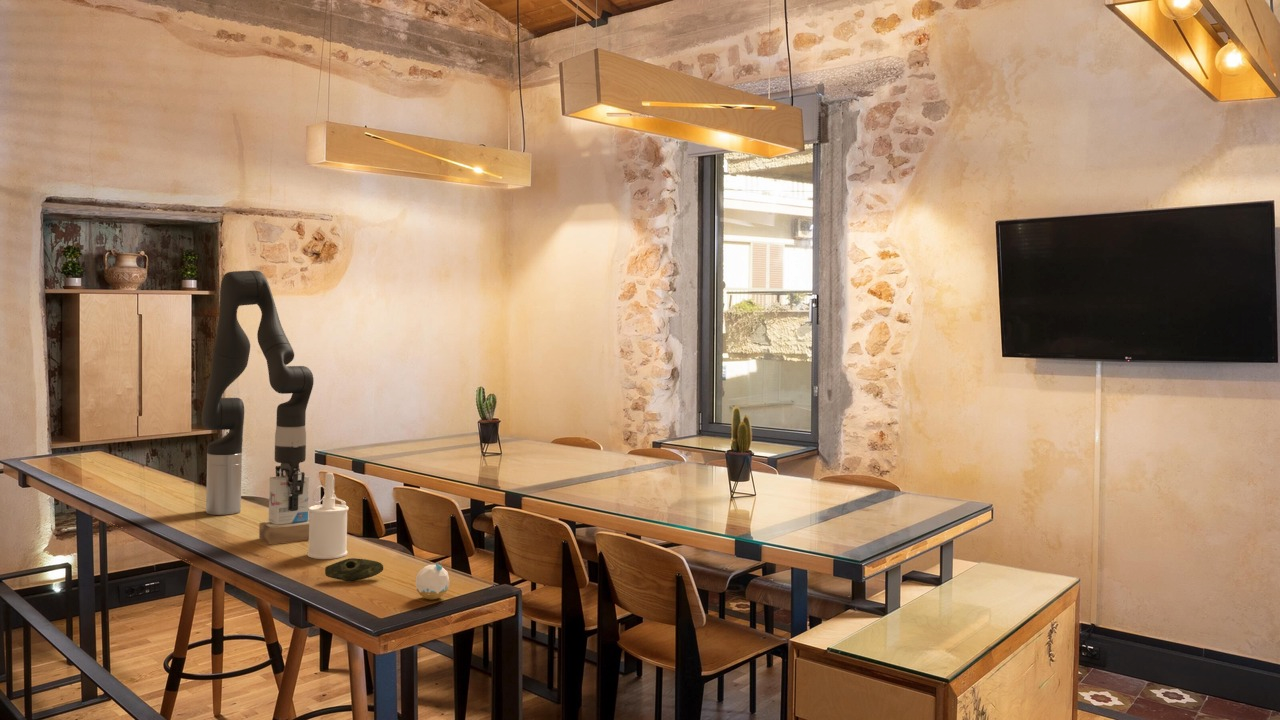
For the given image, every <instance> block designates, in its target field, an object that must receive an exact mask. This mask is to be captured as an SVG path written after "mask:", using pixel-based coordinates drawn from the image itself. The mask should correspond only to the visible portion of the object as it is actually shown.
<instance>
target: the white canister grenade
mask: <svg viewBox="0 0 1280 720" xmlns="http://www.w3.org/2000/svg"><path fill="white" fill-rule="evenodd" d="M324 476H325V477H324V479H325V481H324V485H318V486H317V487H315V488H314V490H313V491H312V492H313V493H312V501H313V502H314V503H316V505H312V506H308V519H309V540H308V551H307V557H309V558H311V559H316V560H333V559H340V558H344V557H345V556H347V555H348V549H347V543H348V542H347V541H348V540H347V539H348V538H347V536H348V511H349V510H350V509H349V508H350V507H349V506H348V505H347V502H346V501H345V500H343V499H341V498H340V497H339V498H338V497H337V496H336V494H335V475H334V473H333V472H329V471H328V472H326V473H325V475H324ZM320 488H323V492H324V495H323V496H322V498H321V499H320V500H319V501H316V499H315V497H316V496H315V495H316V492H317V491H318V489H320ZM336 501H339V502H341V503H340V504H339V503H336ZM321 502H322V504H319V503H321Z"/></svg>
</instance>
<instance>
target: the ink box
mask: <svg viewBox="0 0 1280 720" xmlns="http://www.w3.org/2000/svg"><path fill="white" fill-rule="evenodd" d="M289 483H290V484H292V483H293V482H289ZM309 484H310V477H309V476H307V475H305V476H304V486H303V494H301V495H300V496H298V510H297V511H289V492H288V488H287V487H286V478H285V477H280V476H279V477H276V476H271V477H269V489H268V490H269V493H268V495H269V496H268V498H269V499H268V521H269V522H271V523H273V524H275V525H280V524H288V523H297V522H306V521H308V519H309V511H308V508H309V493H310V492H309V490H310V488H309V487H310V485H309ZM299 489H300V486H299Z"/></svg>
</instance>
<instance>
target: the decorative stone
mask: <svg viewBox="0 0 1280 720" xmlns="http://www.w3.org/2000/svg"><path fill="white" fill-rule="evenodd" d="M324 568H325V569H324V574H325V576H326V577H328V578H331V579H334V580H340V581H344V582H348V583H350V582H356V581H357V582H358V581H362V580H365V579H369V578H372V577H375V576H377V575H379V574H380V573H382V572H383V571H384V565H383V563H382V562H379V561H377V560H371V559H366V558H365V559H364V558H357V557H356V558H355V557H353V558H346V559H343V560H340V561H337V562H334V563H331V564H329V565H326V566H325V567H324Z"/></svg>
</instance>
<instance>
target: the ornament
mask: <svg viewBox="0 0 1280 720" xmlns="http://www.w3.org/2000/svg"><path fill="white" fill-rule="evenodd" d="M439 563H440V564H442V563H443V562H442V561H440V562H439ZM439 563H434V564H429V565H426V566H423V567H422V568H421V570H419V572H417V573H416V577H415V587H416V592H417V593H418V594H419V595H420V596H421V597H422V598H424V599H426V600H433V601H434V600H437V599H440V598H441V597H443V596H444V595H445V594H446V593H447V591H448V590H449V586H450V583H451V582H450V578H449V572H448V570H446V569H445V568H444V567H443V566H442V565H440V564H439Z"/></svg>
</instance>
